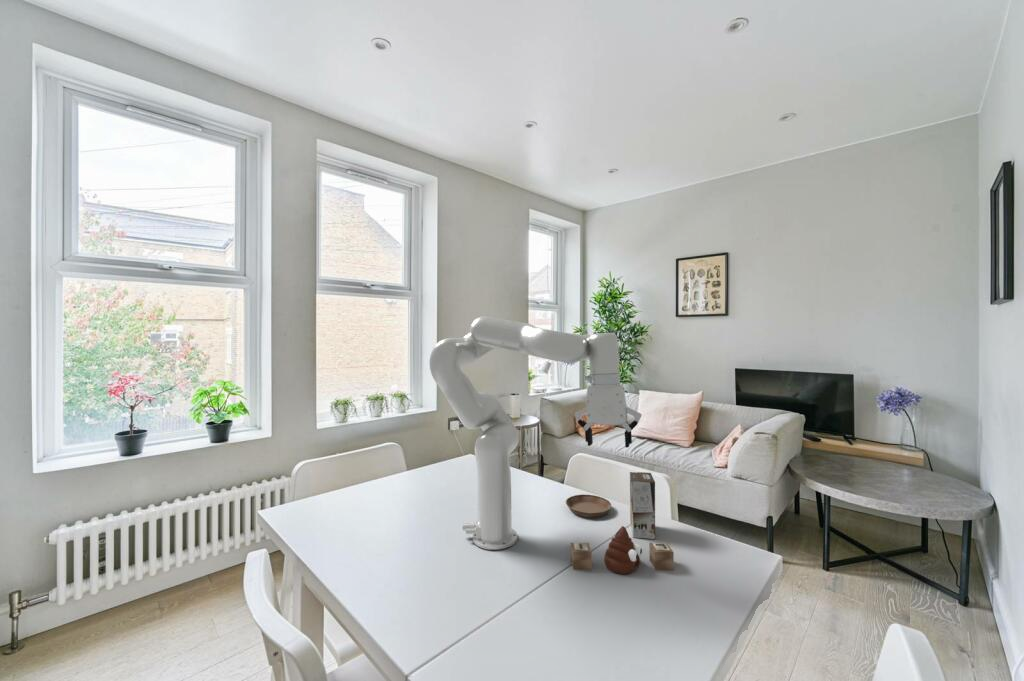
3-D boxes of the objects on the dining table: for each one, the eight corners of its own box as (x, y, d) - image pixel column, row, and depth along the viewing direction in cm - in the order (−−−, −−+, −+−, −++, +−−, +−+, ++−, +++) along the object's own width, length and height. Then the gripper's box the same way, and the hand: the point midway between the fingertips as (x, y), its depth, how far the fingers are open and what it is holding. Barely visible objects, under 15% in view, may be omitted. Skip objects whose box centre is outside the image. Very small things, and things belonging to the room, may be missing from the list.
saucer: (620, 513, 135) (620, 504, 135) (588, 524, 126) (588, 516, 126) (588, 498, 147) (588, 491, 147) (556, 508, 139) (556, 500, 138)
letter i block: (573, 570, 102) (572, 550, 102) (571, 560, 106) (570, 541, 106) (591, 570, 101) (591, 550, 101) (588, 560, 106) (588, 541, 106)
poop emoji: (613, 551, 110) (613, 516, 110) (646, 561, 105) (645, 524, 105) (598, 569, 102) (598, 531, 102) (632, 580, 97) (632, 540, 97)
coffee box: (656, 539, 116) (655, 482, 116) (632, 537, 117) (631, 481, 117) (651, 525, 125) (651, 472, 125) (629, 523, 126) (629, 471, 126)
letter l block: (655, 570, 101) (654, 550, 101) (649, 560, 105) (649, 541, 105) (673, 570, 101) (673, 550, 101) (667, 560, 105) (667, 541, 105)
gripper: (569, 382, 108) (572, 447, 108) (638, 381, 101) (641, 450, 101) (575, 379, 115) (579, 440, 115) (640, 378, 108) (644, 443, 108)
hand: (608, 445), depth 108 cm, fingers open, 9 cm apart
